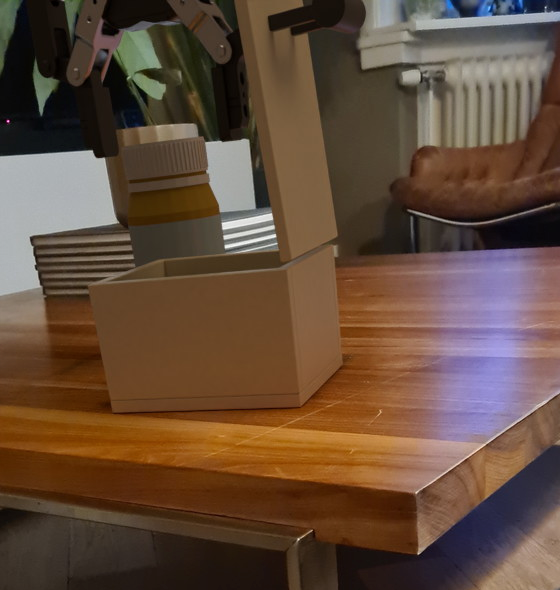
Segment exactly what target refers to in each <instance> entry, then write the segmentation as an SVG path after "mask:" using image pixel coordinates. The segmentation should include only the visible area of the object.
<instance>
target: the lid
mask: <svg viewBox="0 0 560 590" xmlns="http://www.w3.org/2000/svg"><path fill="white" fill-rule="evenodd" d="M233 1H234V7H235V13H236V17H237V24H238V28H239V30H240V36H241V42H242V47H243V53H244V58H245V64H246V65H245V71H246V74H247V80H248V86H249V87H248V88H249V93H250V96H251V102H252V103H251V104H252V109H253V113H254V114H253V115H254V119H255V125H256V131H257V136H258V143H259V148H260V153H261V160H262V164H263V170H264V176H265V181H266V187H267V188H266V189H267V193H268V199H269V204H270V209H271V215H272V221H273V226H274V232H275V236H276V243H277V244H276V245H277V249H279V255H280V261H281V262H284V261H290V260H293V259H295V258H297V257H298V256H300V255H302V254H304V253H306V252H308V251H310V250H312V249H314V248H316V247H318V246H320V245H325V244H326V243H328V242H330V241H332V240H334V239H335V238H337V237H339V234H338V227H337V220H336V215H335V208H334V201H333V195H332V194H333V193H332V187H331V182H330V181H331V180H330V175H329V167H328V161H327V155H326V147H325V140H324V134H323V128H322V121H321V114H320V109H319V108H320V107H319V101H318V95H317V87H316V81H315V75H314V68H313V62H312V60H313V59H312V55H311V47H310V41H309V33H313V32H316V31H321V30H324V29H328V30H332V31H336V32H340V33H342V34H347V35H352V34H355V33H357V32H358V31H359V30H360V29H361V28H362V26H363V25H364V24H365V22H366V17H367V10H366V9H367V8H366V5H365V2H364V1H363V0H311V3H310V4H309V3H308V4H307V5H304V2H303V0H233Z"/></svg>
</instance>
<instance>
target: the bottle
mask: <svg viewBox="0 0 560 590" xmlns="http://www.w3.org/2000/svg"><path fill="white" fill-rule="evenodd" d="M120 153H121V159H122V164H123V170H124V176H125V178H126V181H128V183H126V186H127V190H128V193H129V198H128V206H127V213H126V219H127V226H128V233H129V240H130V244H131V251H132V256H133V263H134V268H137V267H139V266H142V265H145V264H148V263H151V262H153V261H156V260H159V259H171V258H182V257H194V256H205V255H216V254H227V253H226V246H225V238H224V231H223V223H222V215H221V211H220V203H219V202H218V200H217V197H216V195H215V193H214V191H213V188H212V187H211V185H210V182H211V178H210V173H208V172H207V171H208V170H209V159H208V152H207V145H206V139H204V136H193V137H186V138H185V137H184V138H175V139H169V140H168V139H167V140H160V141H152V142H145V143H144V142H143V143H138V144H136V143H135V144H129V145H124V146H121V150H120Z"/></svg>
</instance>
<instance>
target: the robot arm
mask: <svg viewBox="0 0 560 590" xmlns="http://www.w3.org/2000/svg"><path fill="white" fill-rule="evenodd" d="M24 2H25V8H26V12H27V17H28V18H27V19H28V23H29V28H30V34H31V39H32V45H33V50H34V56H35V61H36V67H37V72H38V73H39V75H40V76H41V77H42V78H44V79H52V80H56V81H59V82H63V83H65V84H67V85H69V87H71V89H72V91H73V93H74V98H75V103H76V108H77V114H78V118H79V124H80V128H81V135H82V140H83V143H84V144H85V146H86V148H87V149H92V154H93V156H94V157H95V158H96V159H105V158H114V157H115V158H116V157H119V154H120V147H119V140H118V134H117V128H116V123H115V117H114V111H113V104H112V100H111V93H110V88H109V86H108V87H107V86H106V87H105V86H103V82H104V80H105V77H106V74H107V71H108V68H109V65H110V62H111V59H112V56H113V54H114V52H115V51H116V50H117V49H118V48H119V46H120V44H121V42H122V38H123V35H124V32H129V33H134V32H139V31H140V32H141V31H145V30H147V29H149V28H151V27H153V26H154V25H162V26H175V25H176V26H177V25H181V24H182V23H183V25H184V26H185V27H186V28H187V29H188V30H189V31H190V32H191V33H192V34H194V36H195V37H196V38H197V39H198V41H199V42H200V43H201V45H202V46H203V47H204V49H205V51H206V52H207V53H208V54H209V56H210V57H211V58H212V60H213V61H214V62H215V67H210V74H211V82H212V90H213V98H214V104H215V105H214V107H215V114H216V122H217V131H218V136H219V140H220V142H221V143H228V142H238V141H242V140H243V133H244V131H243V129H247V128H249V125H250V120H251V114H250V112H251V111H250V107H249V105H250V104H249V98H248V97H249V94H248V86H247V85H248V84H247V77H246V64H245V58H244V53H243V47H242V42H241V36H240V30H239V27H238V28H236V29H235V30H233V29H232V28H231V26H230V25H229V24H228V22H227V20H226V19H225V16H224V14H223V11H222V10H221V9H220V8H219V6H218V5H217V3H216V2H215V1H214V0H83V2H82V5H81V10H80V12H79V15H78V19H77V22H76V25H75V28H74V37H75V42H74V44H72V39H71V32H70V25H69V19H68V14H67V8H66V7H67V6H66V0H24Z"/></svg>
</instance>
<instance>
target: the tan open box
mask: <svg viewBox="0 0 560 590" xmlns="http://www.w3.org/2000/svg"><path fill="white" fill-rule="evenodd" d="M334 248H335V247H334V244H332V243H331V244H322V245H320V246H318V247H316V248H314V249H312V250H310V251H308V252H306V253H304V254H302V255H300V256H298V257H297V258H295V259H293V260H290V261H284V262H281V261H280V255H279V249H278V248H276V249H275V248H274V249H263V250H252V251H240V252H228V253H226V254H216V255H205V256H194V257H182V258H171V259H159V260H156V261H153V262H151V263H148V264H145V265H142V266H139V267H137V268H135V267H134V268H132V269H128V270H125V271H123V272H119V273H117V274H115V275H112V276H108V277H106V278H103V279H101V280H97V281H95V282H92V283H89V284H88V285H87V290H88V296H89V301H90V305H91V311H92V316H93V321H94V327H95V330H96V336H97V342H98V345H99V350H100V355H101V361H102V365H103V366H102V367H103V372H104V375H105V376H104V377H105V381H106V385H107V391H108V397H109V400H110V406H111V411H112V413H113V414H117V413H118V414H120V413H121V414H123V413H155V412H157V413H158V412H159V413H160V412H188V411H189V412H190V411H191V412H192V411H217V410H252V409H253V410H254V409H255V410H256V409H285V408H301V407H303V405H305V403H307V401H308V400H309V399H310V398H311V397H313V395H314V394H316V392H317V391H318V390H319V389H320V388H321V387H322V386H323V385H324V384H325V383H326V382H327V381H328V380H329V379H330V378H331V377H332V376H333V375H334V374H335V373H336V372H337V371H338V370H339V369H340V368H341V367H342V366H343V365H344V362H343V350H342V337H341V323H340V311H339V300H338V299H339V297H338V285H337V275H336V259H335V249H334Z"/></svg>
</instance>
